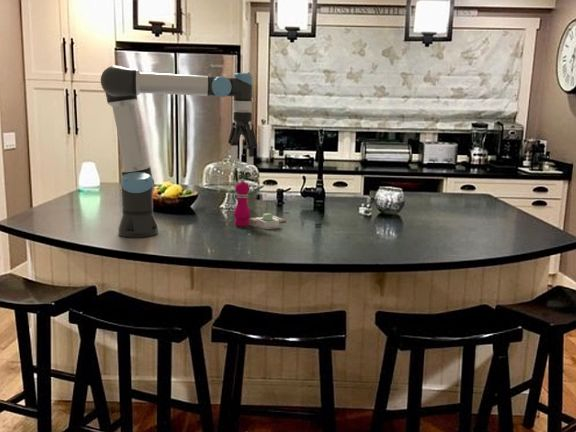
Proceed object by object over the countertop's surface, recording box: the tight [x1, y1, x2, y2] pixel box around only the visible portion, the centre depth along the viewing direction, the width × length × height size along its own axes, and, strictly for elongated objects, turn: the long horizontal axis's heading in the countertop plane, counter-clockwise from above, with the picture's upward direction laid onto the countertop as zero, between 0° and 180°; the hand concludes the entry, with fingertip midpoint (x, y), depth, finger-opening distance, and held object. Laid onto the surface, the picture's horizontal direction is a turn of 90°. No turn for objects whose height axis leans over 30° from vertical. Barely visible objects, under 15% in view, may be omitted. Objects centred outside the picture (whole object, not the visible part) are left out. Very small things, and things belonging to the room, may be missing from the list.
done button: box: [262, 212, 273, 222], centre depth 244 cm, size 4×4×4 cm
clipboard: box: [248, 215, 287, 224], centre depth 255 cm, size 13×10×1 cm
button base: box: [255, 218, 280, 230], centre depth 245 cm, size 7×7×3 cm
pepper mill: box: [233, 178, 251, 227], centre depth 245 cm, size 7×7×20 cm
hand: (241, 162), depth 243 cm, fingers open, 13 cm apart
